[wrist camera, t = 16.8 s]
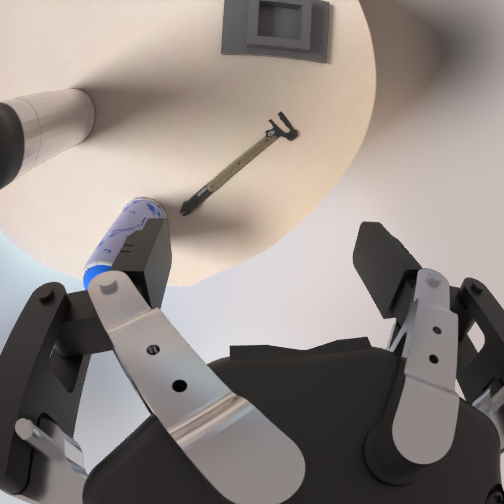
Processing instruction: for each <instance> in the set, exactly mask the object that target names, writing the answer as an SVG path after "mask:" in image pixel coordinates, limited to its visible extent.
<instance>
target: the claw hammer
mask: <svg viewBox="0 0 504 504" xmlns="http://www.w3.org/2000/svg"><path fill="white" fill-rule="evenodd" d="M278 115H279V117H280V119H281V120H282V121H283V122H284V123H285V125H286V126H287V127H288V128H289V129H290V132H289V133H286V134H285V133H284V132H283V131H282V130H281V129H280V128H279V127H278V126H277V125H276V124H275V123H274V122H273V121H272V120H271V119H270V120H269V122H270V123H271V124H272V125H273V129H271V130H267V131H265V132H266V137H264V138H263V139H262V140H261V141H259V143H257V144H256V145H254V147H252V148H251V149H249V150H248V151H247V152H246V153H244V154H243V155H242V156H240V157H239V158H238V159H237V160H235V161H234V162H233V163H232V164H230V165H229V166H228V167H227V168H226V169H225V170H223V171H222V172H221V173H220V174H218V176H216V177H215V178H214V179H213V180H211V181H210V182H209V183H208V184H207V185H205V186H204V187H203V188H202V189H201V190H200V191H198V192H197V193H196V194H195V195H194V196H193V197H192V198H191V199H189V200H188V201H186V202H184V203H183V206H182V208H181V211H180V213H183V212H185V213H183V216H186V215H188V214H190V213H191V212H192V211H193V210H194V209H196V208H197V207H198V206H199V204H200V203H201V202H202V201H204V200H205V199H206V198H207V197H208V196H209V195H210V194H211V193H212V192H214V191H215V190H216V189H217V188H218V187H220V186H221V185H222V184H223V183H224V182H225V181H226V180H227V179H229V177H231V175H233V174H234V173H235V172H237V171H238V170H239V169H240V168H241V167H243V166H244V165H245V164H246V163H247V162H248V161H250V160H251V159H252V158H253V157H254V156H256V155H257V154H258V153H259V152H261V151H262V150H263V149H264V148H265V147H267V146H268V145H269V144H270V143H272V142H273V141H274V140H275V139H277V138H278V137H279V136H283V137H285V138H287V139H288V140H290V141H292V140H293V139H295V138H296V137H297V131H296V130H294V129H293V128H292V126H291V124H290V123H289V121H288V120H287V118H286V117H285V116H284V114H283V113H282V112H279V113H278Z"/></svg>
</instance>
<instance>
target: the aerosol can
mask: <svg viewBox="0 0 504 504" xmlns="http://www.w3.org/2000/svg"><path fill="white" fill-rule="evenodd" d="M148 218H167V216H166V213H165V211H164V209H163V208H162V207H161V206H160V205H159V204H158V203H157V202H155V201H154V200H152V199H149V198H144V197H142V198H135V199H133V200H131V201H129V202H128V203H127V204H126V205H125V207H124V208H123V211H122V212H121V214H120V215H119V217H118V218H117V219H116V221H115V222H114V223H113V225H112V226H111V228H110V229H109V231H108V232H107V233H106V235H105V236H104V238H103V239H102V241H101V242H100V244H99V245H98V247H97V248H96V250H95V251H94V253H93V254H92V256H91V257H90V259H89V260H88V262H87V264H86V265H85V267H84V271H83V274H82V285H83V288H84V290H88V285H89V283H90V281H91V280H92V279H93V278H94V277H96V276H97V275H99V274H101V273H104V272H107V271H109V270H110V268H111V266H112V264H113V262H114V260H115V258H116V257H117V255H118V253H119V252H120V249H121V248H122V246H123V244H124V242H125V240H126V239H127V237H128V236H129V235H131V234H132V233H133V232H135V231H136V230H142V229H143V227H144V225H145V223H146V221H147V220H148Z"/></svg>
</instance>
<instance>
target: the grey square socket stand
mask: <svg viewBox="0 0 504 504" xmlns="http://www.w3.org/2000/svg"><path fill="white" fill-rule="evenodd" d="M328 21H329V2H325V1H321V0H225V2H224V16H223V31H222V49H221V54H231V55H257V56H271V57H282V58H291V59H299V60H306V61H313V62H319V63H326V57H327V41H328Z"/></svg>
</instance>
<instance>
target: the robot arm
mask: <svg viewBox="0 0 504 504" xmlns="http://www.w3.org/2000/svg"><path fill="white" fill-rule="evenodd" d="M94 120H95V110H94V105H93V102H92V100H91V98H90V97H89V96H88V95H87V94H86V93H85V92H84V91H82V90H79V89H66V90H57V91H51V92H45V93H39V94H33V95H28V96H23V97H18V98H14V99H10V100H6V101H2V102H0V189H2V188H3V187H5V186H6V185H8V184H9V183H11V182H12V181H14V180H15V179H17V178H18V177H20V176H22V175H23V174H25V173H26V172H28V171H29V170H31V169H33V168H34V167H36V166H38V165H39V164H41V163H43V162H45V161H46V160H48V159H50V158H52V157H54V156H56V155H57V154H59V153H61V152H63V151H65V150H67V149H69V148H71V147H73V146H75V145H77V144H79V143H81V142H82V141H83V140H84V139H85V138H86V137H87V136H88V135H89V133H90V132H91V130H92V127H93V124H94ZM171 263H172V252H171V243H170V234H169V225H168V220H167V218H148V220H147V221H146V223H145V225H144V227H143V229H142V230H136V231H135V232H133V233H132V234H131V235H129V236H128V237H127V239H126V240H125V242H124V244H123V246H122V248H121V249H120V252H119V253H118V255H117V257H116V258H115V260H114V262H113V264H112V266H111V268H110V270H109V271H107V272H104V273H101V274H99V275H97V276H96V277H94V278H93V279H92V280H91V281H90V283H89V285H88V290H84V291H79V292H74V293H70V294H67V293H66V290H65V288H64V286H63V285H62V284H61V283H58V282H51V283H46V284H44V285H42V286H40V287H39V288H37V289H36V290H35V291H34V292H33V293H32V295H31V297H30V298H29V300H28V302H27V303H26V305H25V307H24V309H23V311H22V312H21V314H20V316H19V318H18V320H17V322H16V324H15V326H14V328H13V330H12V332H11V333H10V336H9V338H8V340H7V342H6V344H5V346H4V348H3V351H2V353H1V355H0V489H1V490H2V491H4V492H5V493H7V494H9V495H11V496H13V497H16V498H18V499H21V500H23V501H26V502H28V503H31V504H504V491H503V488H502V483H501V472H500V454H501V453H503V452H504V310H503V308H502V307H501V306H500V304H499V303H498V302H497V300H496V299H495V298H494V296H493V295H492V294H491V293H490V292H489V290H488V289H487V287H486V286H485V285H484V284H482V283H481V282H480V281H478V280H476V279H473V278H465V279H464V281H463V283H462V285H461V287H460V288H458V287H452V286H449V282H448V281H447V279H446V278H445V277H444V276H443V275H442V274H440V273H439V272H437V271H435V270H432V269H428V268H427V269H426V268H422V267H421V266H420V264H419V263H418V262H417V261H416V260H415V258H414V257H413V256H412V255H411V254H410V253H409V251H408V250H407V249H406V248H404V246H403V245H402V243H401V242H400V241H399V240H398V239H396V238H395V237H393V236H392V235H391V234H390V233H389V232H388V231H387V230H386V229H385V228H384V227H383V225H382V224H381V223H379V222H363V223H361V225H360V229H359V232H358V236H357V240H356V244H355V248H354V252H353V264H354V267H355V269H356V270H357V272H358V274H359V276H360V277H361V279H362V281H363V282H364V284H365V286H366V288H367V290H368V291H369V293H370V295H371V297H372V298H373V300H374V302H375V304H376V306H377V308H378V309H379V311H380V313H381V315H382V317H383V318H384V319H387V318H396V321H395V323H394V325H393V328H392V331H391V335H390V339H389V341H388V345H387V348H386V350H385V349H382V348H377V347H372V346H371V344H370V342H369V340H368V337H361V338H353V339H343V340H336V341H333V342H330V343H327V344H324V345H321V346H318V347H315V348H312V349H309V350H297V349H290V348H283V347H277V346H270V345H248V346H246V345H245V346H230V356H229V357H225V358H221V359H218V360H216V361H213V362H211V363H209V364H207V365H206V364H205V362H204V361H203V360H202V359H201V358H200V357H199V356H198V354H197V353H196V352H195V351H194V350H193V349H192V348H191V347H190V345H189V344H188V343H187V342H186V341H185V339H184V338H183V337H182V336H181V335H180V333H179V332H178V331H177V330H176V329H175V327H174V326H173V325H172V324H171V322H170V321H169V320H168V319H167V318H166V316H165V315H164V314H163V313H162V312H161V310H160V308H161V304H162V300H163V296H164V292H165V288H166V284H167V280H168V276H169V272H170V269H171ZM475 321H476V323H477V324H478V325H479V327H480V329H481V330H482V332H483V334H484V336H485V343H484V346H483V348H482V349H481V350H480V352H479V353H478V352H477V350H476V349H475V347H474V345H473V343H472V342H471V340H470V338H469V337H468V335H467V333H468V332H469V330H470V329H471V327H472V326H473V324H474V322H475ZM53 347H54V349H53ZM52 350H53V351H52ZM110 350H113V352H114V354H115V356H116V358H117V360H118V362H119V363H120V365H121V367H122V369H123V371H124V372H125V374H126V376H127V378H128V379H129V381H130V383H131V384H132V386H133V388H134V389H135V391H136V393H137V395H138V396H139V398H140V400H141V401H142V403H143V405H144V406H145V407H146V409H147V411H148V412H149V414H150V416H149V417H148V418H147V419H146V420H145V421H144V422H143V423H142V424H141V425H140V426H139V427H138V428H137V429H136V430H135V431H134V432H133V433H132V434H130V435H129V436H128V437H127V438H126V439H125V440H124V441H123V442H122V443H121V444H120V445H119V446H117V447H116V448H115V449H114V450H113V451H112V452H111V453H110V454H109V455H108V456H106V457H105V458H104V459H103V460H102V461H101V462H100V463H99V464H98V465H96V466H95V467H94V468H93V470H92V471H91V472H90V473H89V475H87V473H86V471H85V468H84V462H83V453H82V450H81V448H80V446H79V444H78V443H77V442H76V441H75V440H74V439H73V435H74V429H75V423H76V418H77V413H78V407H79V403H80V398H81V394H82V389H83V385H84V381H85V377H86V373H87V368H88V365H89V361H90V357H91V354H94V353H99V352H104V351H110ZM51 352H52V354H51ZM50 355H51V357H50ZM455 379H457V381H458V383H459V385H460V387H461V389H462V392H463V394H464V397H465V399H466V401H467V402H466V401H465V400H464V399H462V398H461V397H459V396H458V394H457V393H456V392H455Z"/></svg>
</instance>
